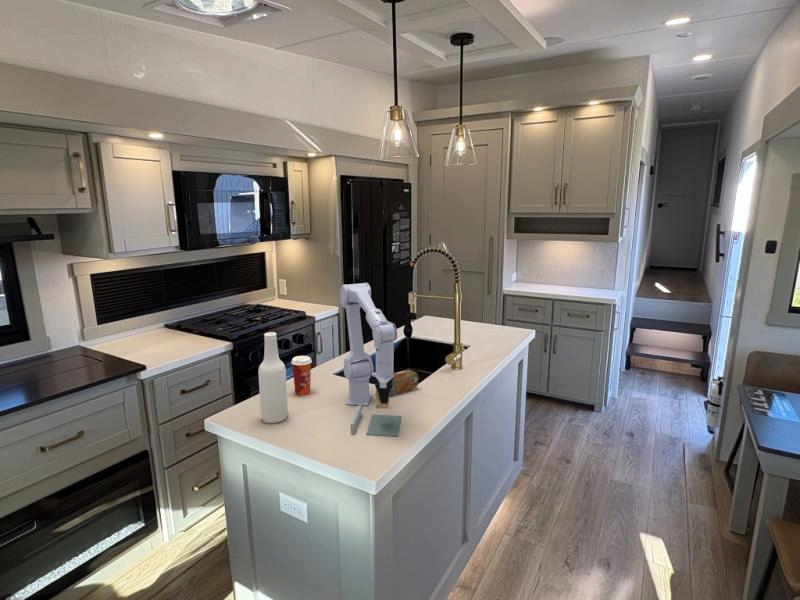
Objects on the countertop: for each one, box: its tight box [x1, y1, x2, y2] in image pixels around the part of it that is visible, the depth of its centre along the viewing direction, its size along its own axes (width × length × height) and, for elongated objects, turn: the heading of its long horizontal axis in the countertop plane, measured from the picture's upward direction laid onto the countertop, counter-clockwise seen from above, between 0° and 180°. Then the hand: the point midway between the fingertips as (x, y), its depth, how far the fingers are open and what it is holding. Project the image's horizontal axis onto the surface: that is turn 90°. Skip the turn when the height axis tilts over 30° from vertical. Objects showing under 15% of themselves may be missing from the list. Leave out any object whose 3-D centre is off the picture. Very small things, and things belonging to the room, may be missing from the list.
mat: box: [365, 413, 403, 438], centre depth 149 cm, size 14×10×1 cm
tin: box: [389, 369, 420, 397], centre depth 176 cm, size 15×3×8 cm, turn 124°
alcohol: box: [257, 331, 289, 424], centre depth 151 cm, size 9×9×30 cm
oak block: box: [375, 389, 390, 410], centre depth 147 cm, size 4×4×6 cm
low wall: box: [350, 405, 363, 435], centre depth 150 cm, size 14×1×4 cm, turn 175°
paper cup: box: [290, 355, 313, 396], centre depth 174 cm, size 8×8×14 cm
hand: (384, 400), depth 148 cm, fingers closed on oak block, 4 cm apart
